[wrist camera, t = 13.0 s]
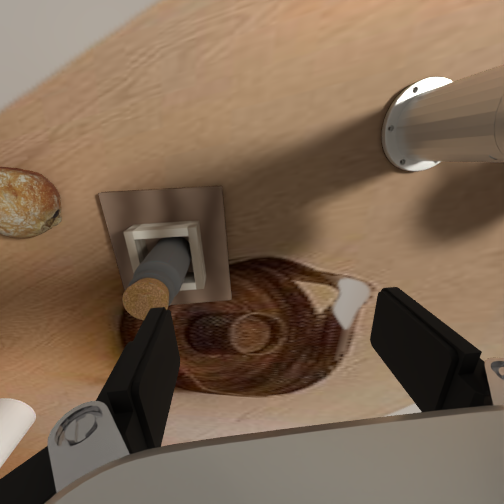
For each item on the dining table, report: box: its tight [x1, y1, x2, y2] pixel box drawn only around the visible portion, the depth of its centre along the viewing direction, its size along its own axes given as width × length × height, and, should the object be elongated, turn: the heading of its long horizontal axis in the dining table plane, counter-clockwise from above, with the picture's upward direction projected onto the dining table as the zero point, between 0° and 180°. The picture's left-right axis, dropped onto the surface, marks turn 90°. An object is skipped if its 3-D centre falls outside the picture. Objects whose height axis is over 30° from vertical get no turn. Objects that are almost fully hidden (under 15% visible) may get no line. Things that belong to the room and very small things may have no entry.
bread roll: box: [0, 167, 61, 238], centre depth 34 cm, size 10×10×8 cm
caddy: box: [98, 186, 231, 305], centre depth 38 cm, size 18×20×5 cm
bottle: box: [123, 236, 192, 320], centre depth 33 cm, size 6×6×15 cm
